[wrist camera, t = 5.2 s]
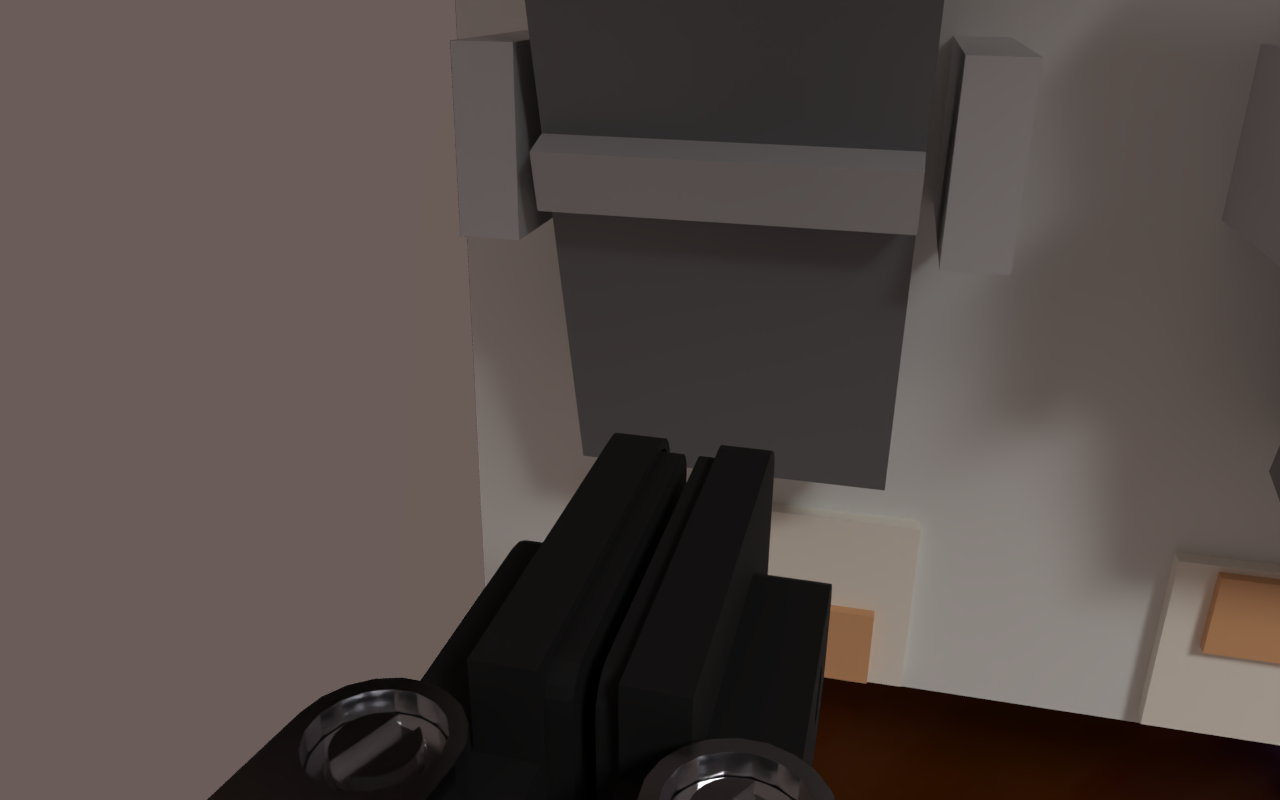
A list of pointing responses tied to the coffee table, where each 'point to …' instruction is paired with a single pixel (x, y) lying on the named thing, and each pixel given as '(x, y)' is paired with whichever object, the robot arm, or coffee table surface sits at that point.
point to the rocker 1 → (736, 218)
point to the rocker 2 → (1276, 472)
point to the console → (996, 366)
